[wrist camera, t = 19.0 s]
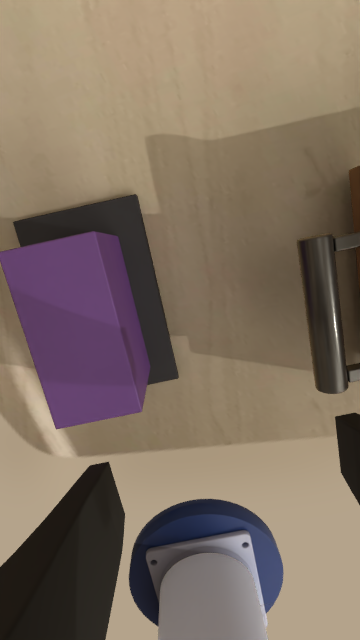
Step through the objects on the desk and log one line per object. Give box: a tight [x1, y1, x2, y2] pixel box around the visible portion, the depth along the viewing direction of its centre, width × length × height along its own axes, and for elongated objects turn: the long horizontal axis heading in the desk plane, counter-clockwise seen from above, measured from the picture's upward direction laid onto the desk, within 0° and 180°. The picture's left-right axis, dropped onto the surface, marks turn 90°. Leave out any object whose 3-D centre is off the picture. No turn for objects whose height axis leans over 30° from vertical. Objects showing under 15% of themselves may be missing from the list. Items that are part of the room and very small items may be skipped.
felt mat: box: [13, 194, 178, 385], centre depth 19 cm, size 11×7×1 cm, turn 12°
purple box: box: [0, 231, 150, 429], centre depth 16 cm, size 4×8×6 cm, turn 12°
